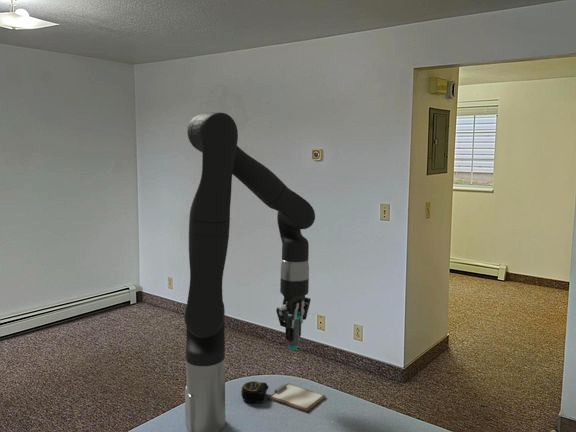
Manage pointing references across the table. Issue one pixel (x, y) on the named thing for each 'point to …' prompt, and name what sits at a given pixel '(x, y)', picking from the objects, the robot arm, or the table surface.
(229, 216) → the robot arm
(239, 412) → the table surface
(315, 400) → the clipboard
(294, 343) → the marker
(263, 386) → the tape measure
